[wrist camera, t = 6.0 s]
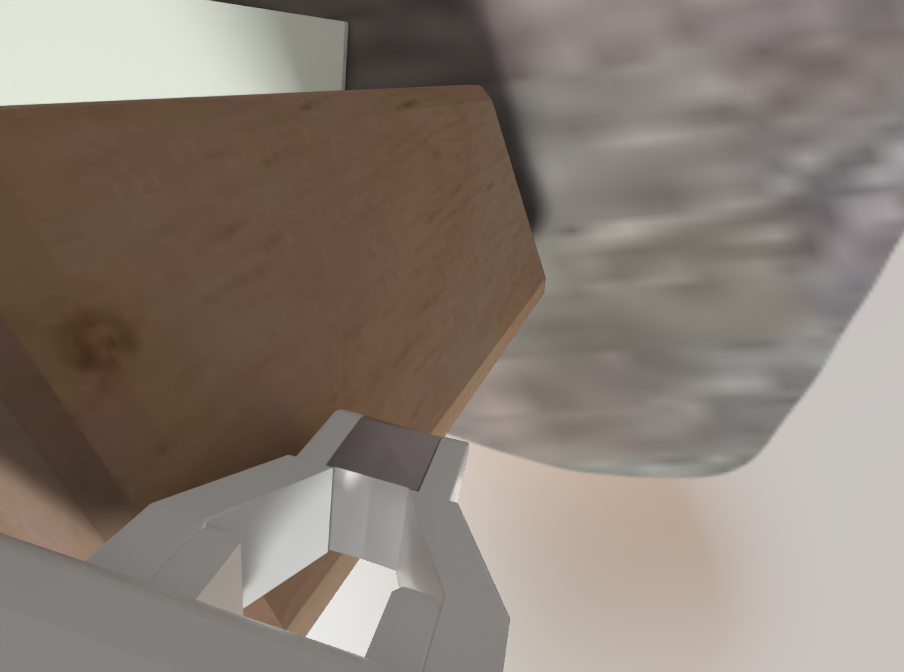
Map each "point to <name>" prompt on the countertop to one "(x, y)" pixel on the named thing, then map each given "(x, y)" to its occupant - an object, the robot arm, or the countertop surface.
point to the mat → (162, 51)
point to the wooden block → (241, 293)
